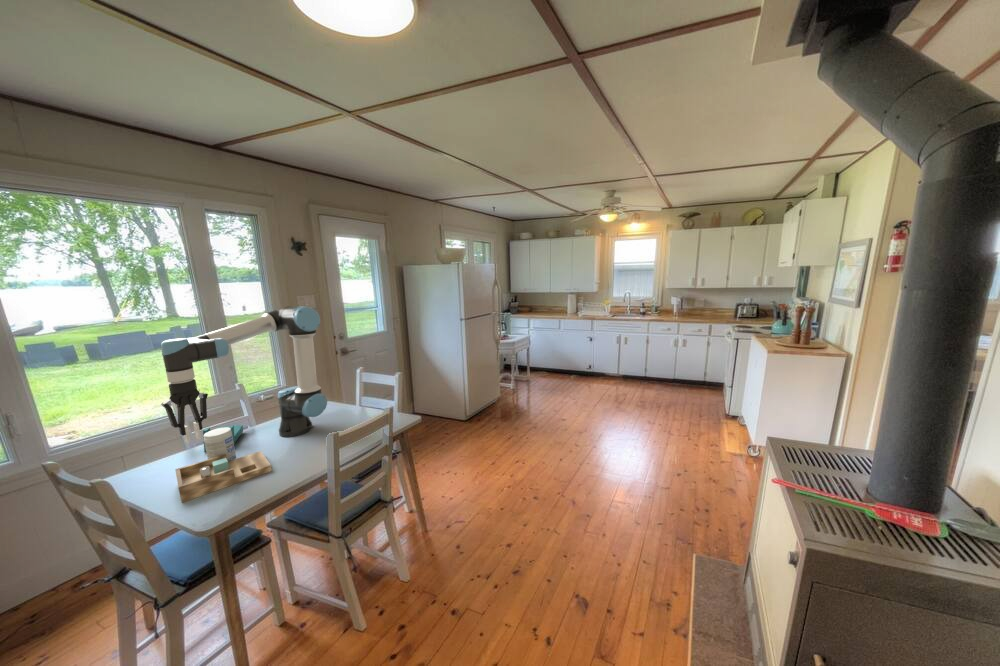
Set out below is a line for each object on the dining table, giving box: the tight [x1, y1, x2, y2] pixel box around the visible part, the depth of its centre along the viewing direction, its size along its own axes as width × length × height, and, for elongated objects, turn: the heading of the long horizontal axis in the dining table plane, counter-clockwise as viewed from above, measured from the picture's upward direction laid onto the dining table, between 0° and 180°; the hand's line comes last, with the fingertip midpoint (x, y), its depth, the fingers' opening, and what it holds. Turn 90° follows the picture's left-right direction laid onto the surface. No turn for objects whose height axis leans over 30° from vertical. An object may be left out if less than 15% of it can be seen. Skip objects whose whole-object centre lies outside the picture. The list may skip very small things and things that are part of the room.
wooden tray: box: [175, 450, 272, 504], centre depth 143 cm, size 28×18×6 cm, turn 135°
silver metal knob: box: [200, 466, 211, 478], centre depth 135 cm, size 3×3×6 cm
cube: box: [212, 458, 229, 474], centre depth 142 cm, size 4×4×4 cm
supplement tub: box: [203, 426, 237, 461], centre depth 153 cm, size 10×10×15 cm
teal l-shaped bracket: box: [202, 424, 244, 453], centre depth 175 cm, size 18×11×10 cm, turn 22°
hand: (193, 440), depth 135 cm, fingers open, 3 cm apart
